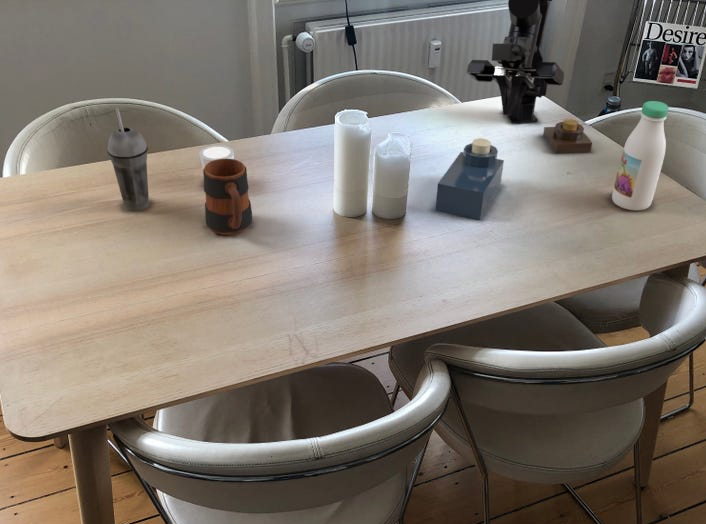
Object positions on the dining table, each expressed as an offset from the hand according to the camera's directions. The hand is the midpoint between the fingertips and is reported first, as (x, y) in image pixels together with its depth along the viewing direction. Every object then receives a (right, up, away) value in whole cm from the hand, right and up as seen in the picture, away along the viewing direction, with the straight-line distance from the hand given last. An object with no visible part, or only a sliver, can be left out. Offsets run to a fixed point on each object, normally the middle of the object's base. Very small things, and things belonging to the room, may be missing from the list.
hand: (505, 115), depth 167 cm
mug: (-53, -25, -12) cm, 60 cm away
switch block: (+17, -1, +19) cm, 25 cm away
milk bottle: (+25, -18, -1) cm, 30 cm away
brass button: (+17, +2, +17) cm, 24 cm away
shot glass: (-58, -14, +1) cm, 59 cm away
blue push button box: (-8, -17, -1) cm, 19 cm away
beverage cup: (-73, -19, -6) cm, 75 cm away
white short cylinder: (-5, -8, -2) cm, 10 cm away
